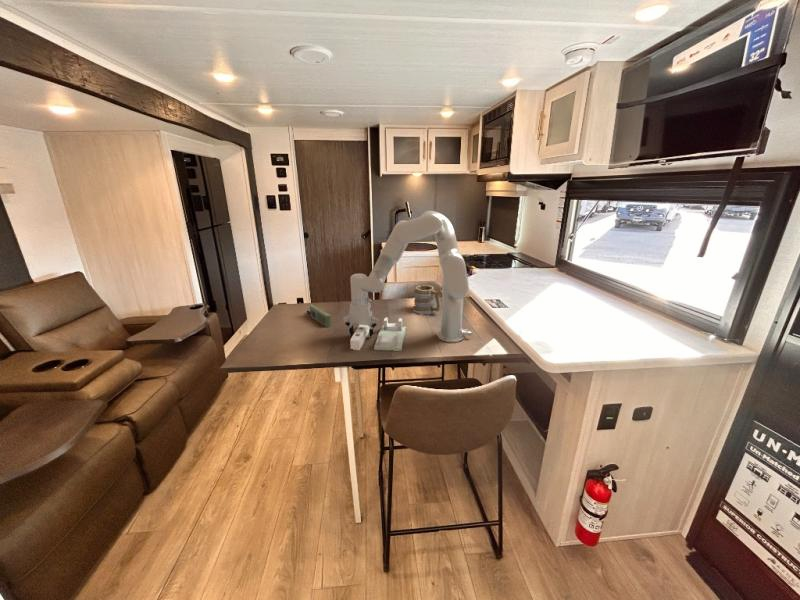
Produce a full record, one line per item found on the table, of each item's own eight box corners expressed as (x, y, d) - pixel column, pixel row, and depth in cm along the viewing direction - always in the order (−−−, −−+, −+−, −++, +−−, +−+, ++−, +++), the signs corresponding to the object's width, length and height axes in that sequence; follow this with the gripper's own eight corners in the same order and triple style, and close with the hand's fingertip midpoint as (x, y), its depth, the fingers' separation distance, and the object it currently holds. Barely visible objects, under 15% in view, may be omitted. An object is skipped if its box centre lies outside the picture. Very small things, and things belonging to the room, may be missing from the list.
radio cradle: (405, 329, 156) (405, 317, 154) (401, 351, 135) (401, 337, 133) (382, 328, 157) (381, 316, 155) (374, 349, 137) (373, 336, 134)
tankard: (408, 310, 180) (408, 285, 175) (423, 305, 188) (424, 281, 183) (434, 320, 166) (435, 294, 161) (449, 314, 174) (451, 288, 169)
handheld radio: (326, 328, 158) (304, 314, 176) (332, 326, 160) (310, 313, 178) (325, 316, 156) (303, 303, 174) (331, 314, 158) (309, 302, 176)
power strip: (371, 327, 159) (371, 318, 157) (359, 350, 136) (359, 340, 135) (363, 327, 159) (363, 318, 157) (350, 350, 137) (350, 339, 135)
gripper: (380, 298, 144) (381, 332, 150) (343, 297, 146) (345, 331, 152) (377, 304, 137) (378, 339, 143) (338, 303, 139) (341, 337, 145)
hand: (361, 335), depth 147 cm, fingers open, 8 cm apart
